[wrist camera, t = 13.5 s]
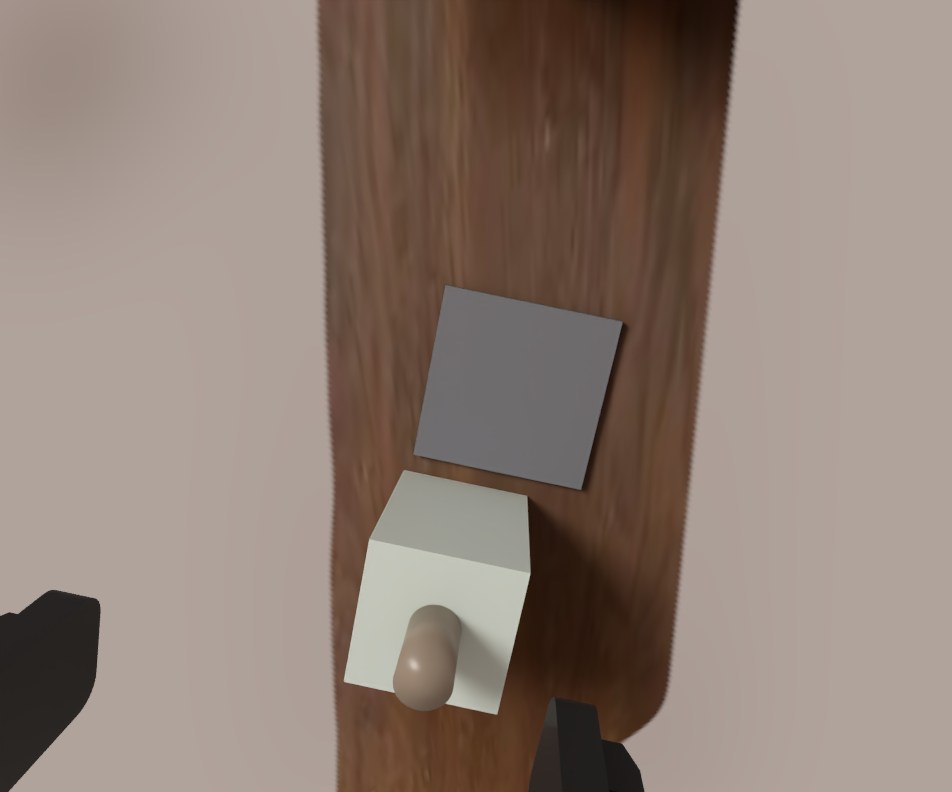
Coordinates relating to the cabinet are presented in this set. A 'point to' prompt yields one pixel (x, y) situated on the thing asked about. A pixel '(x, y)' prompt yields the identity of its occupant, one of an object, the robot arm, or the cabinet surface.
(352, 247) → the cabinet surface
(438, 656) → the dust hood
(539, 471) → the mat
